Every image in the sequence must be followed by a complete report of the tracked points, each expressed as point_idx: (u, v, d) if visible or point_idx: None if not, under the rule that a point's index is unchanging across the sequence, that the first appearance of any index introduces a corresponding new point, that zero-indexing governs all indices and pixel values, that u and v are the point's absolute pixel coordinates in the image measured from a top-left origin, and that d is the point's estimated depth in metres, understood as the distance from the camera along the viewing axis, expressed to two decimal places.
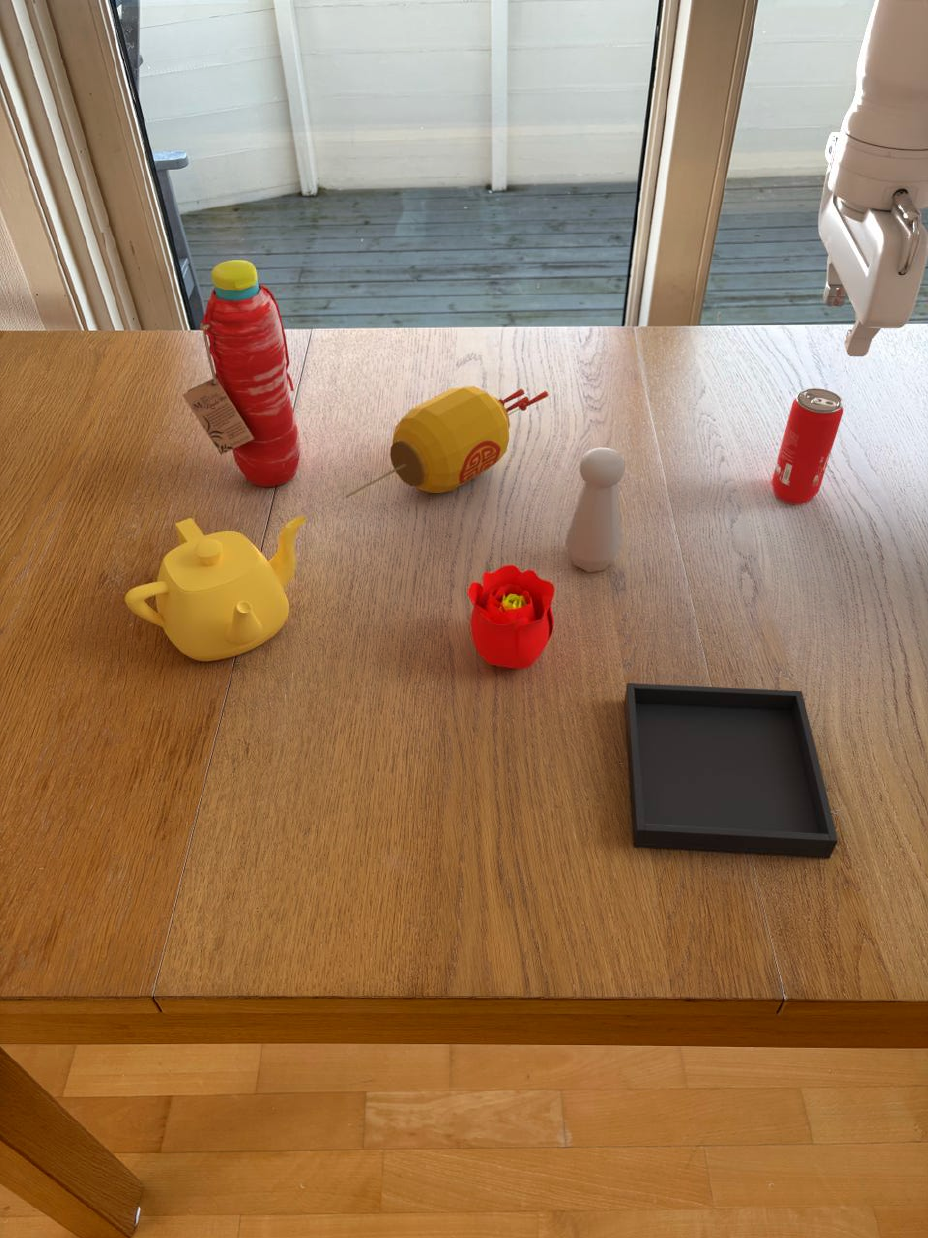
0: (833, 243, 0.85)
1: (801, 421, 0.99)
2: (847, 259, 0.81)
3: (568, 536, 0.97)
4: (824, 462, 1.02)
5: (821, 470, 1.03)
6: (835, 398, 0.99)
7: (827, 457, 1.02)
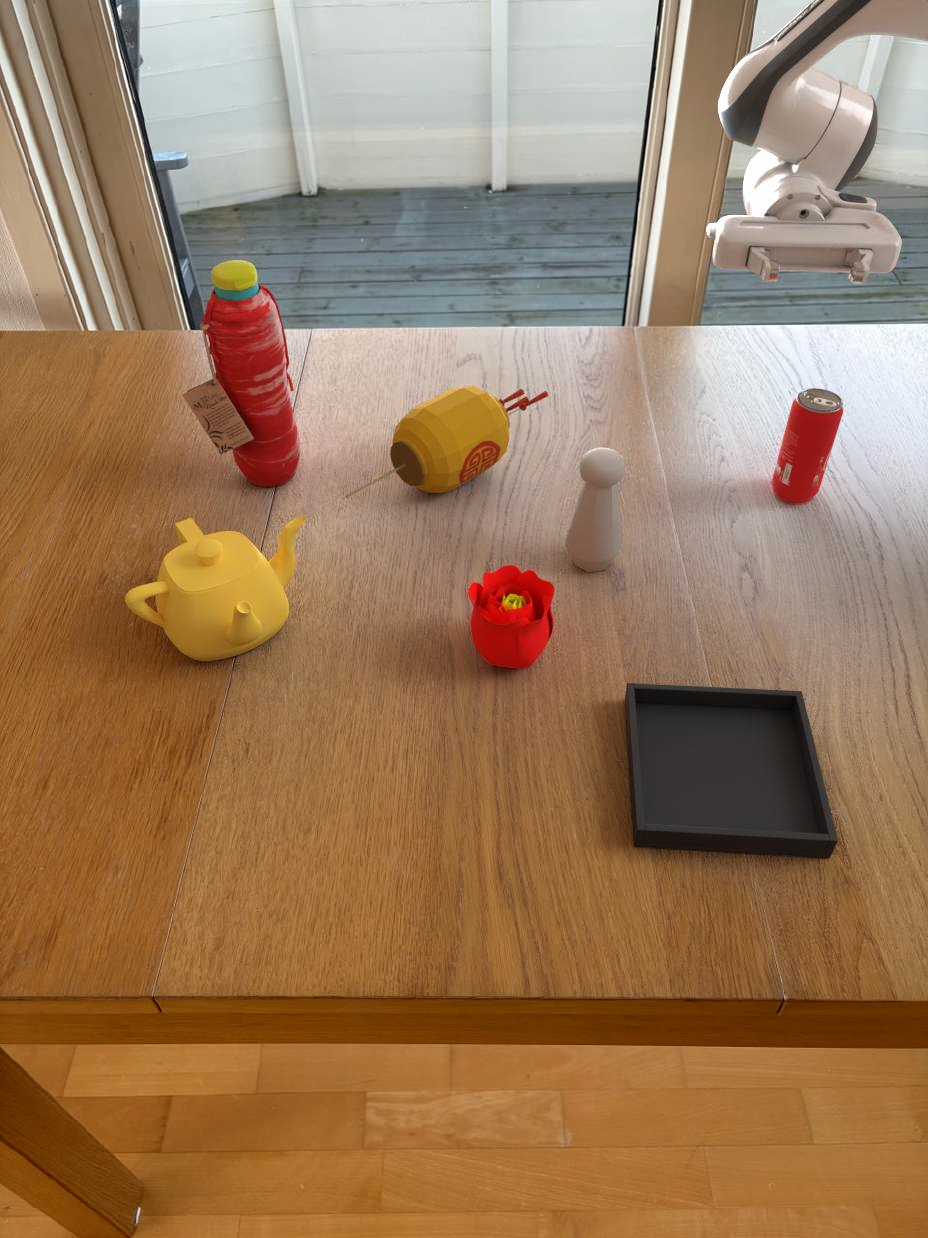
0: None
1: (801, 421, 0.99)
2: None
3: (568, 536, 0.97)
4: (824, 462, 1.02)
5: (821, 470, 1.03)
6: (835, 397, 0.99)
7: (827, 457, 1.02)
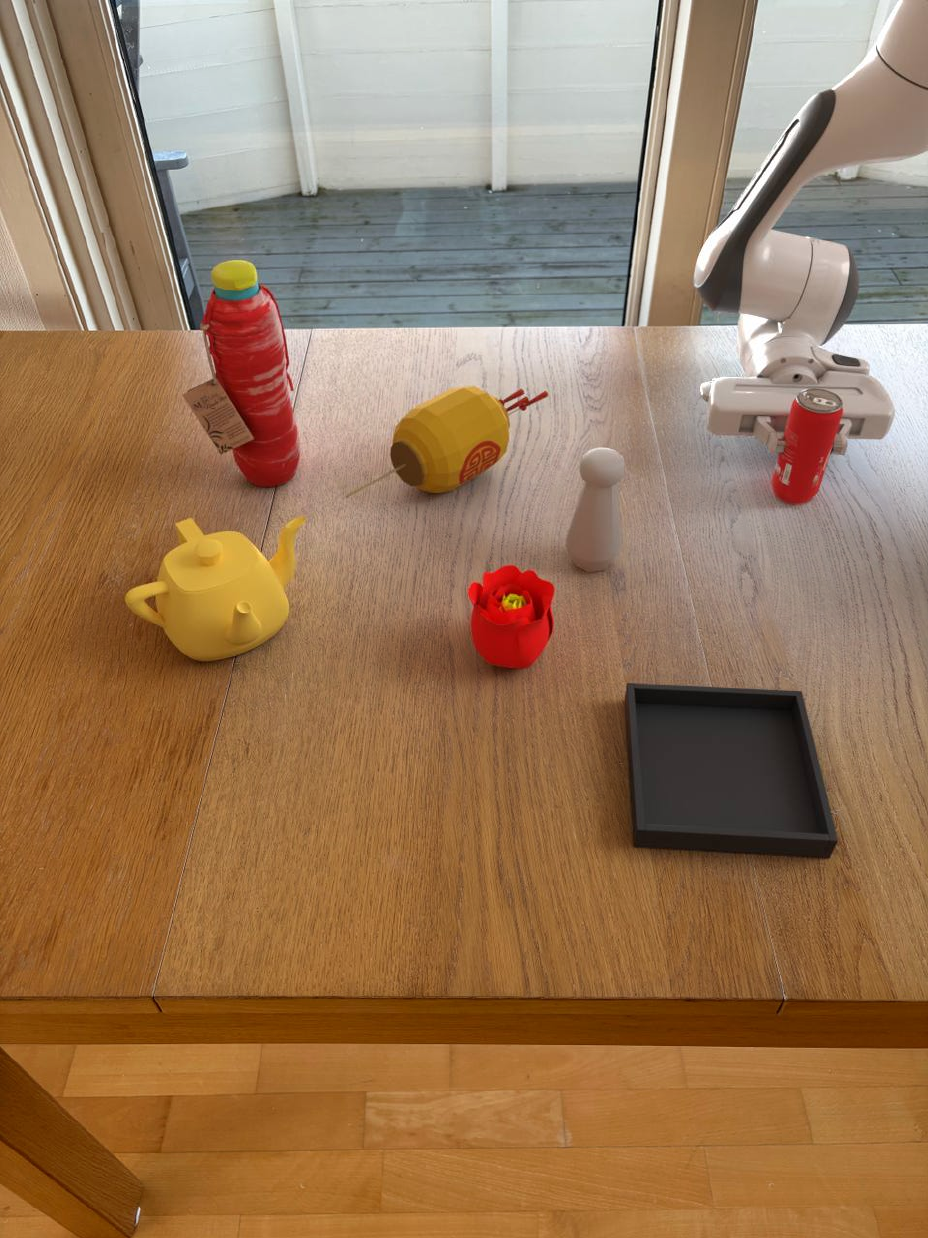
0: None
1: (801, 421, 0.99)
2: None
3: (568, 536, 0.97)
4: (824, 462, 1.02)
5: (821, 470, 1.03)
6: (835, 397, 0.99)
7: (827, 457, 1.02)
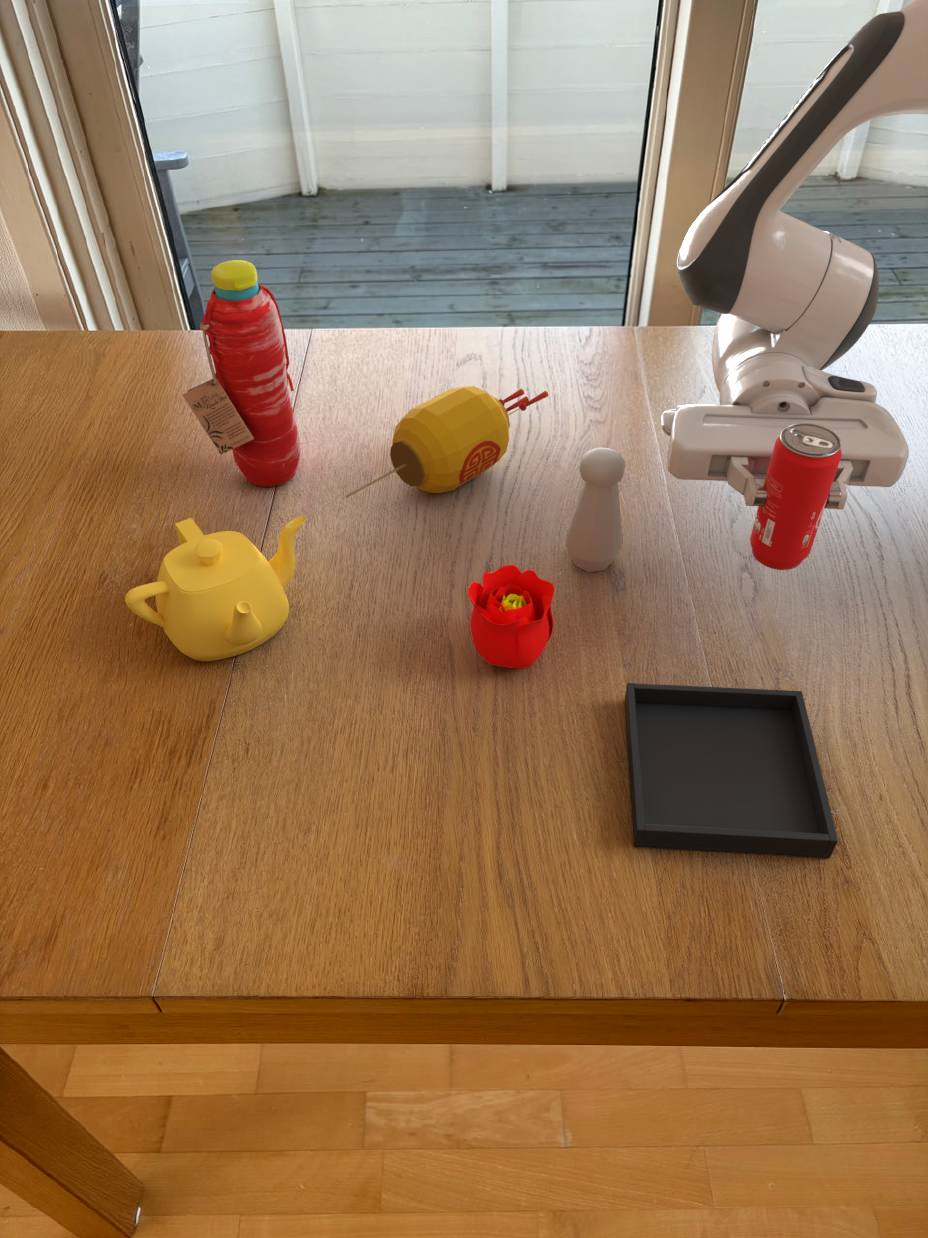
0: None
1: (786, 467, 0.76)
2: None
3: (568, 536, 0.97)
4: (816, 519, 0.79)
5: (812, 529, 0.79)
6: (831, 436, 0.76)
7: (820, 512, 0.78)
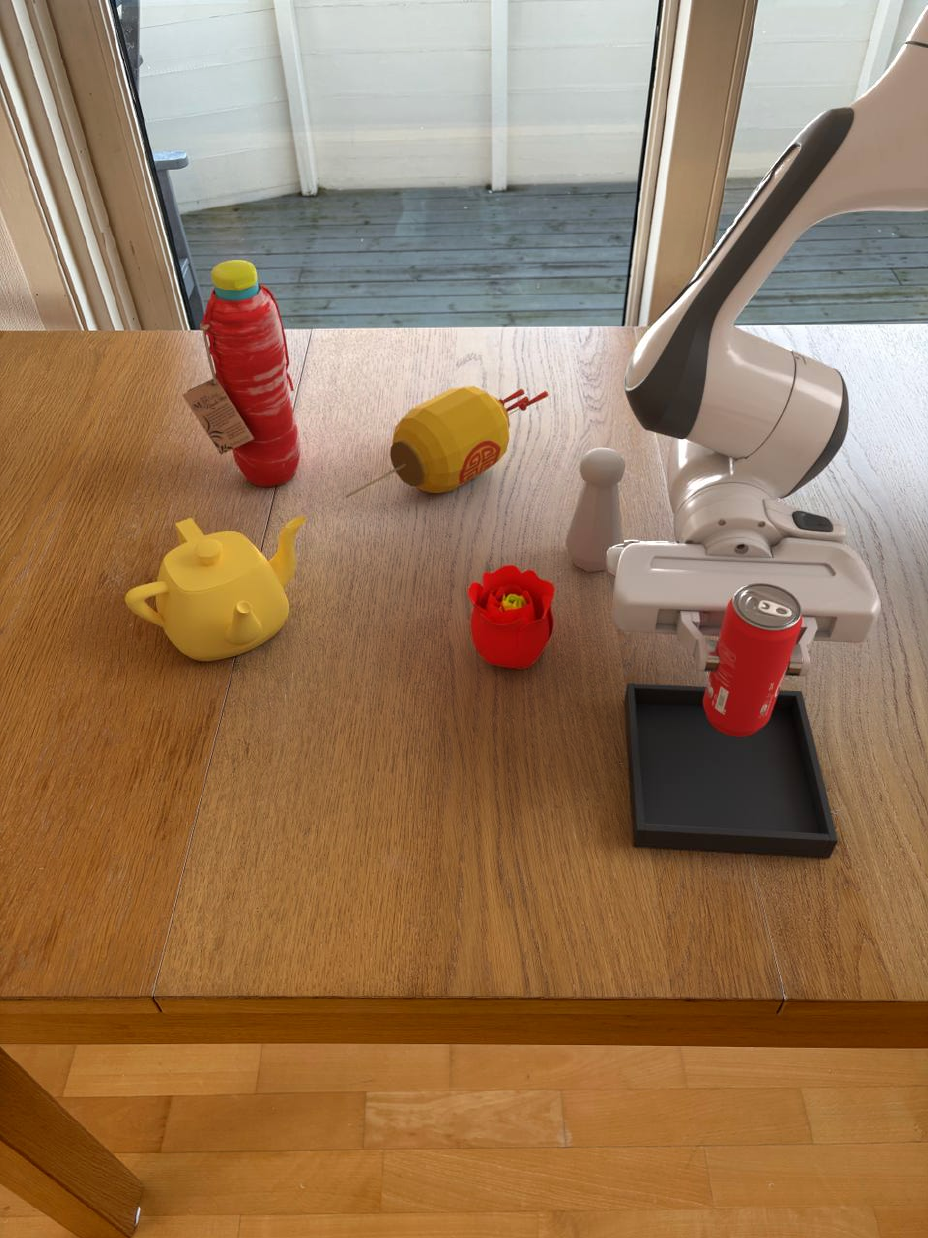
0: None
1: (739, 638, 0.66)
2: None
3: (568, 536, 0.97)
4: (775, 688, 0.69)
5: (771, 698, 0.70)
6: (790, 601, 0.66)
7: (780, 681, 0.69)
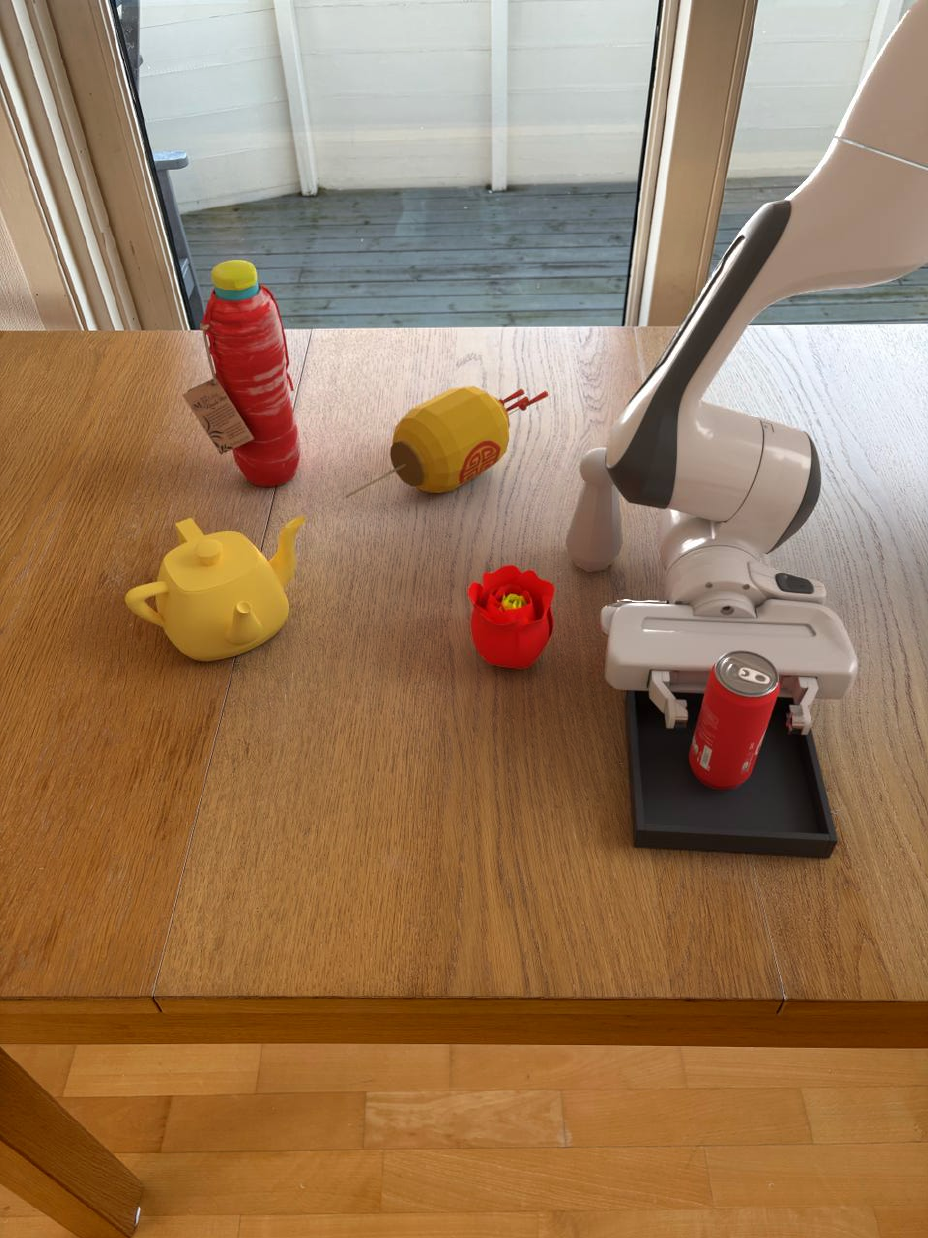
0: None
1: (720, 703, 0.71)
2: None
3: (568, 536, 0.97)
4: (756, 748, 0.74)
5: (752, 756, 0.75)
6: (769, 669, 0.71)
7: (760, 741, 0.74)
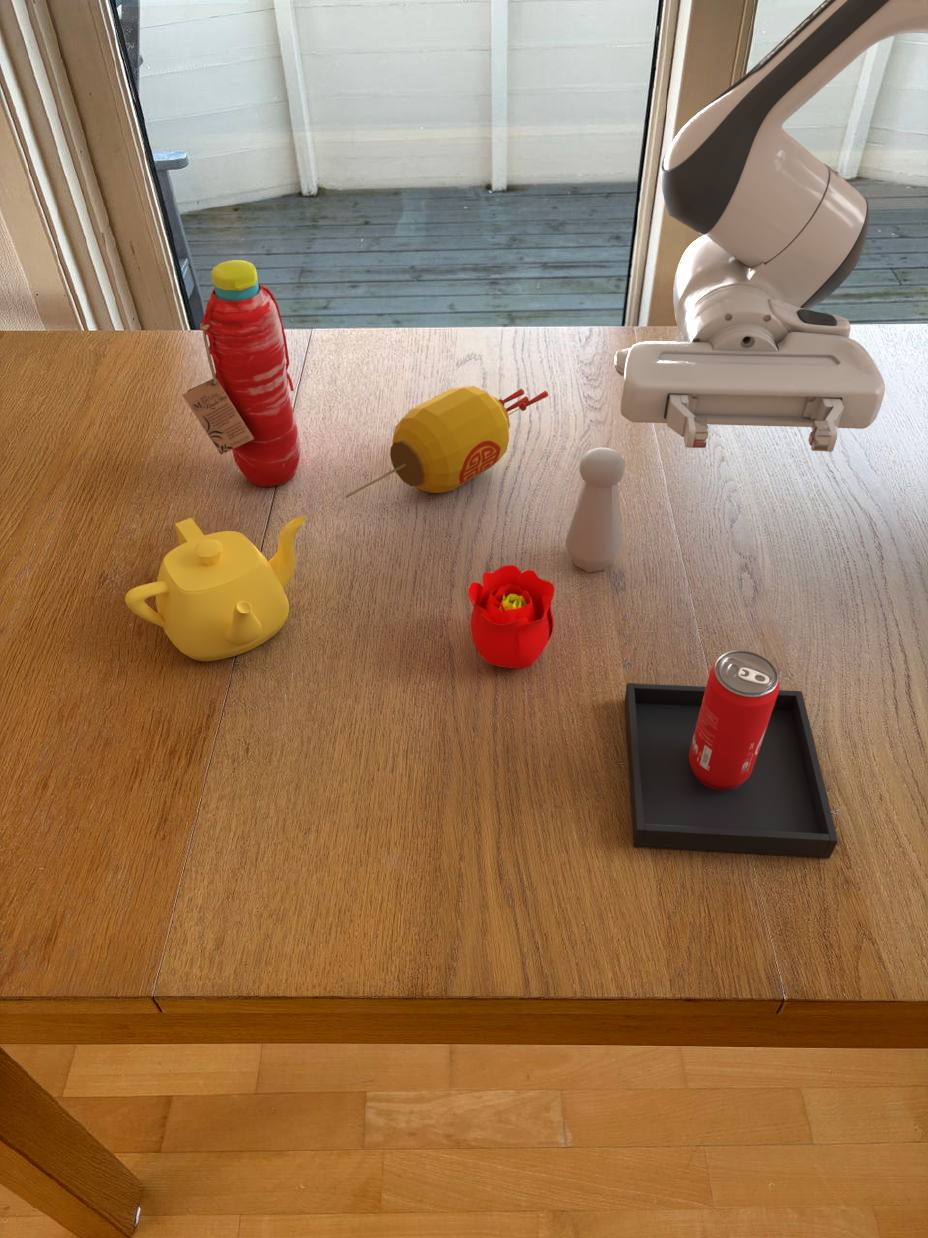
0: None
1: (720, 703, 0.71)
2: None
3: (568, 536, 0.97)
4: (755, 747, 0.74)
5: (752, 756, 0.75)
6: (768, 668, 0.71)
7: (759, 741, 0.74)
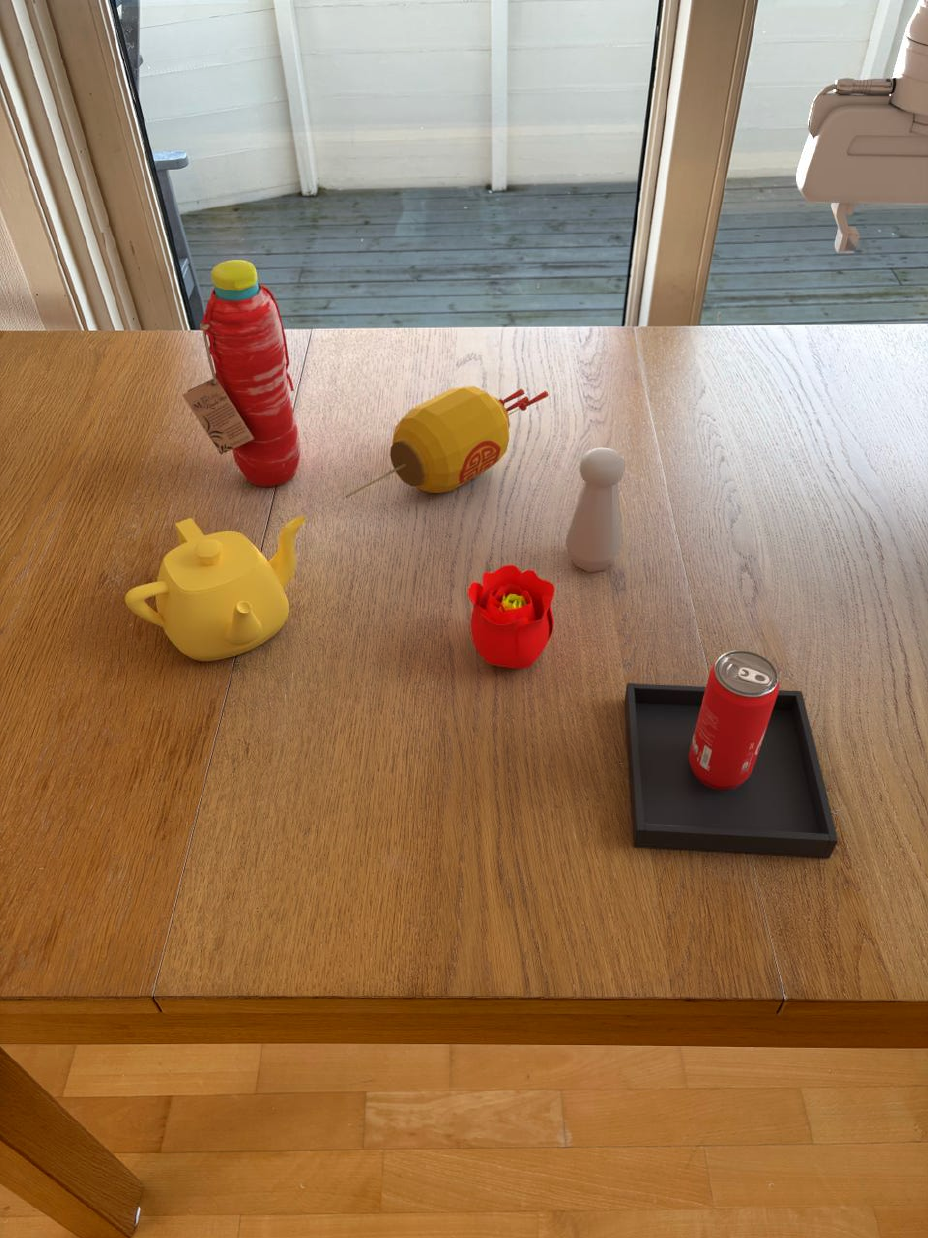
0: None
1: (720, 703, 0.71)
2: None
3: (568, 536, 0.97)
4: (755, 747, 0.74)
5: (752, 756, 0.75)
6: (768, 668, 0.71)
7: (759, 741, 0.74)
